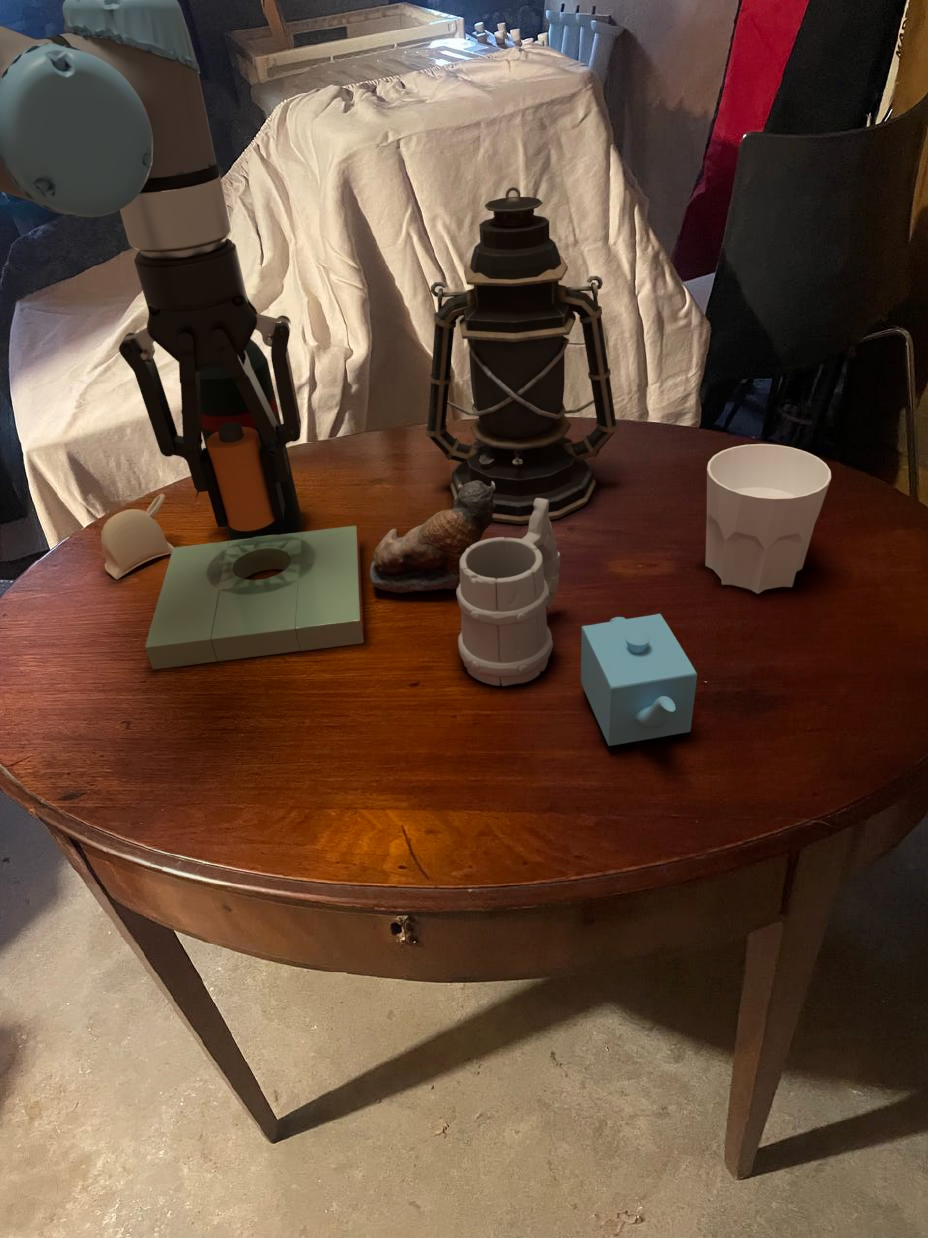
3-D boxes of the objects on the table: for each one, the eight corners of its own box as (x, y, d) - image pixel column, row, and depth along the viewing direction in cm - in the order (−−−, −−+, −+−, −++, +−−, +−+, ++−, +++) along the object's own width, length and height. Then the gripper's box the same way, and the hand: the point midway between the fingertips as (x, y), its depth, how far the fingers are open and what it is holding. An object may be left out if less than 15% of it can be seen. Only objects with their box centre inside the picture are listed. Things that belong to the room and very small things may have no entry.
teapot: (707, 774, 61) (719, 693, 56) (622, 790, 60) (627, 708, 56) (648, 667, 70) (654, 589, 66) (575, 679, 70) (576, 602, 65)
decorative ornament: (97, 566, 89) (79, 520, 85) (171, 533, 93) (157, 488, 90) (114, 581, 86) (97, 534, 83) (190, 546, 90) (176, 501, 87)
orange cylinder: (225, 534, 78) (199, 440, 72) (230, 509, 81) (206, 419, 76) (275, 527, 78) (253, 434, 72) (278, 503, 81) (257, 412, 76)
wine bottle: (209, 517, 95) (126, 221, 77) (303, 505, 96) (242, 209, 78) (201, 555, 89) (110, 243, 71) (302, 542, 90) (236, 229, 72)
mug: (440, 669, 72) (427, 544, 65) (518, 597, 79) (514, 478, 72) (519, 701, 68) (514, 573, 61) (593, 622, 75) (596, 499, 68)
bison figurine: (369, 607, 79) (353, 510, 73) (375, 565, 85) (360, 472, 79) (501, 599, 79) (496, 501, 73) (498, 557, 85) (493, 463, 79)
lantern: (422, 527, 90) (387, 214, 72) (439, 457, 103) (413, 176, 85) (619, 524, 88) (633, 201, 70) (612, 453, 101) (623, 164, 83)
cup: (833, 586, 77) (855, 486, 71) (727, 607, 76) (741, 507, 70) (775, 531, 85) (791, 436, 79) (679, 549, 84) (688, 454, 78)
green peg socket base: (152, 670, 74) (144, 647, 73) (179, 567, 87) (173, 546, 86) (364, 643, 75) (359, 620, 74) (359, 546, 88) (356, 524, 87)
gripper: (301, 220, 69) (347, 485, 83) (76, 244, 68) (161, 508, 82) (298, 244, 63) (348, 525, 77) (51, 270, 62) (147, 550, 76)
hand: (251, 515), depth 79 cm, fingers closed on orange cylinder, 4 cm apart
